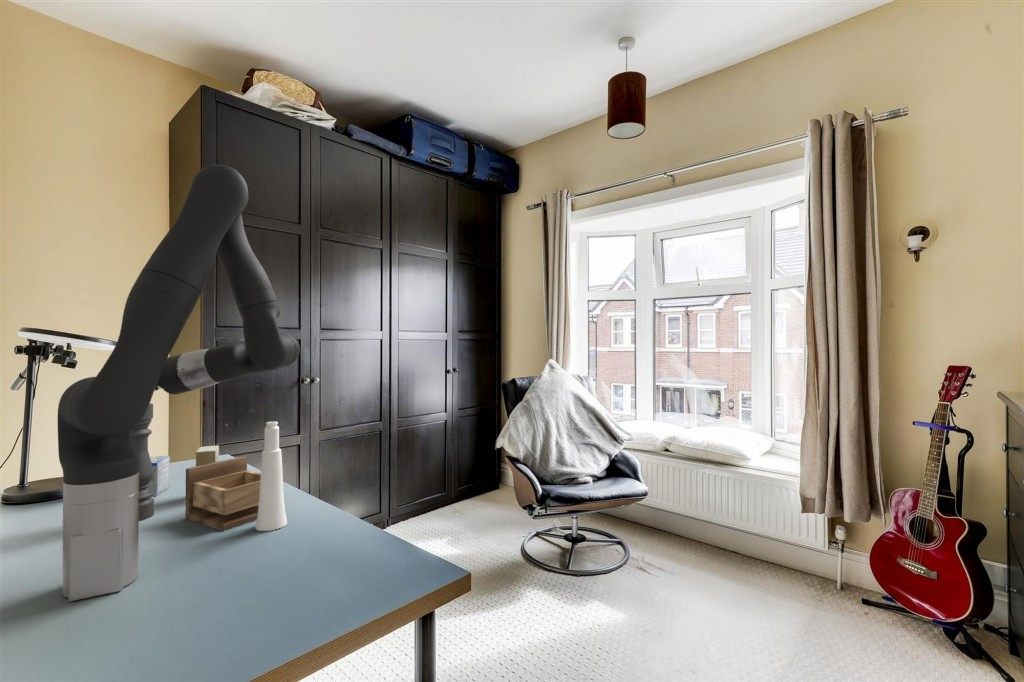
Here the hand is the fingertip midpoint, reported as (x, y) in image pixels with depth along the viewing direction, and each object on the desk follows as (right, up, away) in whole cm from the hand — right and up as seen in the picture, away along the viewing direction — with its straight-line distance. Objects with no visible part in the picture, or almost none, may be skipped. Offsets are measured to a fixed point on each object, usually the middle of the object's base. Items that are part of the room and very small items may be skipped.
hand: (110, 390), depth 93 cm
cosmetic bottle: (+28, -30, +8) cm, 41 cm away
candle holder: (-5, -30, +13) cm, 33 cm away
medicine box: (-14, -30, +30) cm, 45 cm away
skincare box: (+2, -30, +27) cm, 40 cm away
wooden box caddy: (+17, -30, +14) cm, 37 cm away
